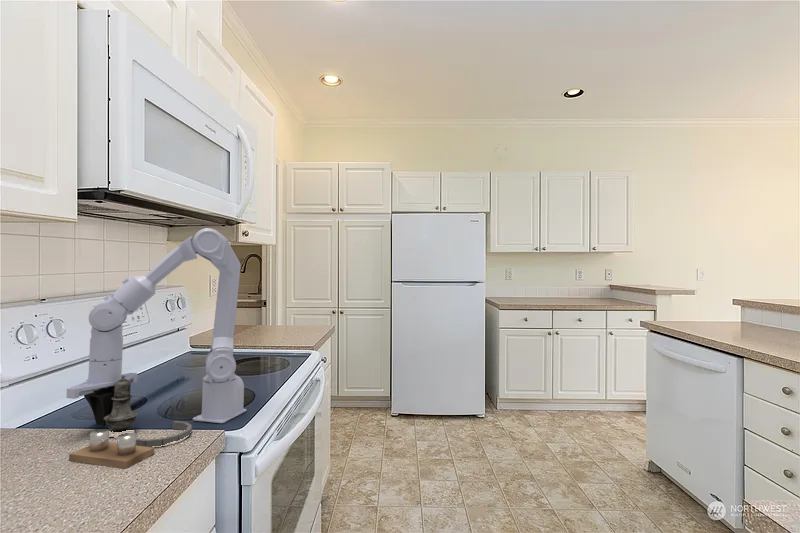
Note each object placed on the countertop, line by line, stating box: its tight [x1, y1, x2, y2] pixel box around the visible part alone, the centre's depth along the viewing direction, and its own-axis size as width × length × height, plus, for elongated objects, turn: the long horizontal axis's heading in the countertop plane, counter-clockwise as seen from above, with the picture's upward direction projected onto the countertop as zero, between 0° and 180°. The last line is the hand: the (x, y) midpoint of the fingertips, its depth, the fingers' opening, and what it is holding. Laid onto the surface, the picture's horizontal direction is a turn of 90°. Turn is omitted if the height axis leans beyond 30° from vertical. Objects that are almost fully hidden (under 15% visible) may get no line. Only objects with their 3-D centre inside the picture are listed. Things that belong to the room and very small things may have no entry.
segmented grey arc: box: [136, 420, 193, 447], centre depth 83 cm, size 11×7×2 cm, turn 168°
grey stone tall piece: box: [104, 375, 139, 432], centre depth 85 cm, size 6×6×12 cm
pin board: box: [68, 428, 155, 469], centre depth 73 cm, size 6×12×4 cm, turn 78°
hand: (102, 424), depth 86 cm, fingers closed, pressing on grey stone tall piece
